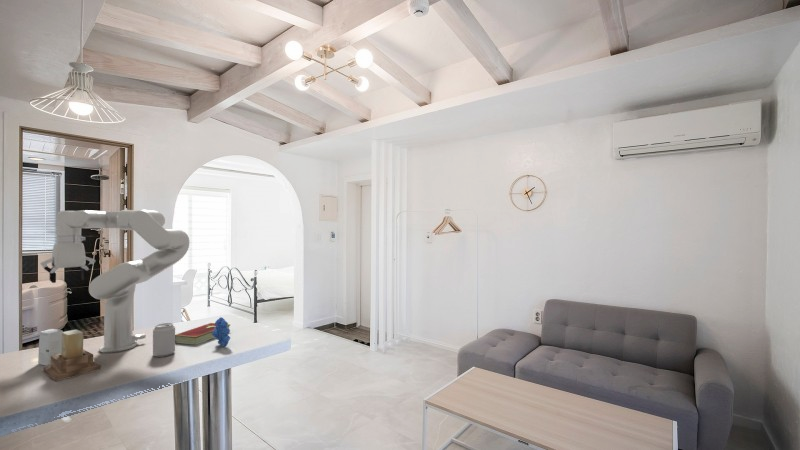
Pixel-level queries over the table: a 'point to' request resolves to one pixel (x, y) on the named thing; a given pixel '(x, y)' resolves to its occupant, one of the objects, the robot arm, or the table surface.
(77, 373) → the slotted stand
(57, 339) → the skincare box
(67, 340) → the skincare box
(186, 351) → the table surface
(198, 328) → the hardcover book
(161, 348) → the can
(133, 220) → the robot arm
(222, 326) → the grapes
